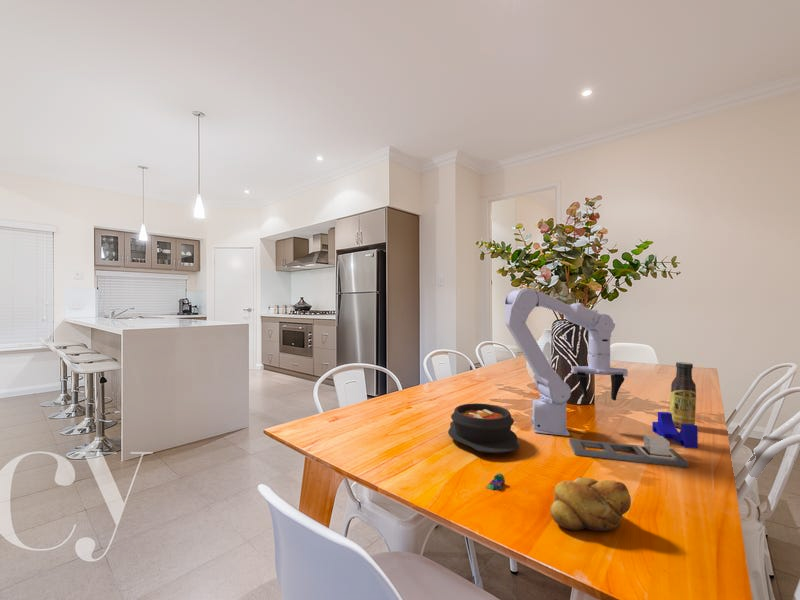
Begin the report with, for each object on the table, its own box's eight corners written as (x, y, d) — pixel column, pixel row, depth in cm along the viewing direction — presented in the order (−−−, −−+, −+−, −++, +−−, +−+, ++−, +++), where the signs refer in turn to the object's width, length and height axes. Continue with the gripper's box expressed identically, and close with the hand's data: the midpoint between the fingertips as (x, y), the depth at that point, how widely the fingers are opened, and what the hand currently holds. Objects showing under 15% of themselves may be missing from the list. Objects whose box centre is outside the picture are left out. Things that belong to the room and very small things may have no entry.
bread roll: (565, 542, 57) (565, 491, 57) (535, 507, 67) (535, 464, 67) (638, 536, 59) (638, 487, 59) (598, 503, 68) (598, 461, 68)
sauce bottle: (673, 428, 108) (673, 363, 109) (666, 422, 114) (666, 360, 114) (699, 431, 106) (699, 365, 106) (691, 425, 112) (691, 361, 112)
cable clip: (652, 431, 106) (652, 411, 106) (668, 432, 106) (668, 412, 106) (679, 448, 94) (679, 425, 95) (697, 448, 94) (697, 426, 94)
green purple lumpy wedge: (491, 481, 77) (491, 470, 77) (504, 486, 75) (504, 474, 75) (483, 490, 73) (483, 478, 73) (497, 494, 72) (497, 482, 72)
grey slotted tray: (574, 455, 89) (574, 449, 89) (569, 443, 97) (569, 437, 97) (688, 467, 83) (688, 461, 83) (672, 453, 90) (672, 447, 90)
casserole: (537, 457, 88) (538, 423, 88) (466, 463, 85) (466, 428, 85) (493, 423, 113) (493, 397, 113) (436, 427, 109) (436, 399, 109)
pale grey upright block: (650, 460, 86) (650, 440, 86) (644, 454, 90) (643, 434, 90) (669, 462, 85) (669, 442, 85) (662, 456, 89) (662, 436, 89)
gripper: (575, 354, 106) (575, 399, 106) (631, 356, 102) (631, 404, 101) (571, 351, 113) (571, 394, 112) (623, 353, 108) (623, 397, 108)
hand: (599, 398), depth 107 cm, fingers open, 7 cm apart
